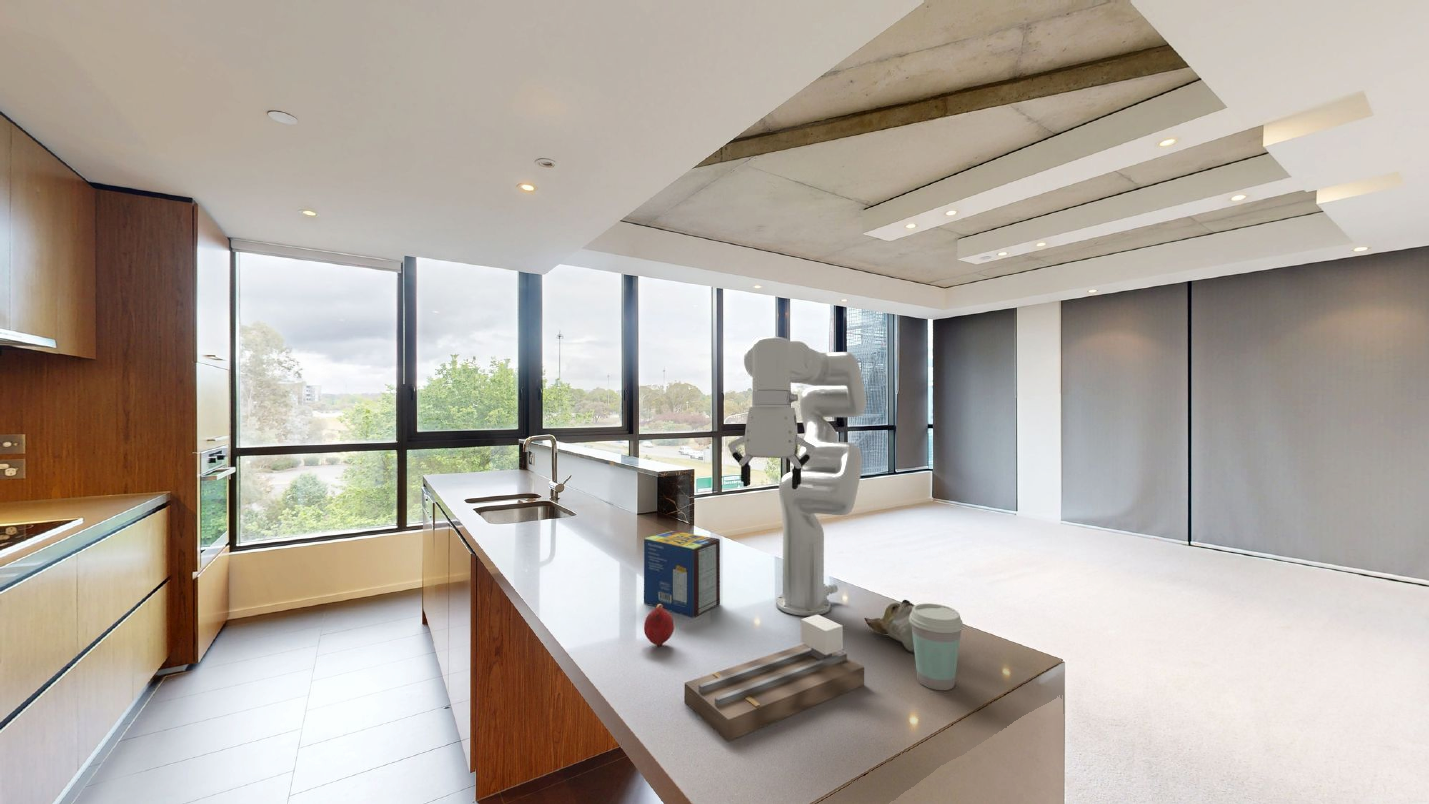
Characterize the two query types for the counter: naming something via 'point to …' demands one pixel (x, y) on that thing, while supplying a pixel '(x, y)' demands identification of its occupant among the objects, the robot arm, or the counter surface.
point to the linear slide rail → (770, 689)
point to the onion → (658, 626)
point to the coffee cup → (936, 644)
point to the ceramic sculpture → (895, 623)
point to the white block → (821, 636)
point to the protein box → (682, 572)
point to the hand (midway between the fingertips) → (770, 487)
